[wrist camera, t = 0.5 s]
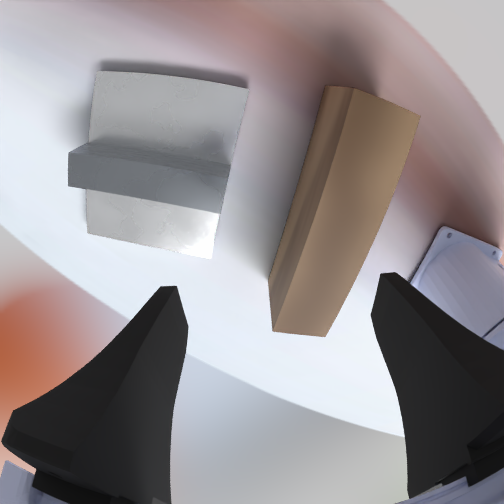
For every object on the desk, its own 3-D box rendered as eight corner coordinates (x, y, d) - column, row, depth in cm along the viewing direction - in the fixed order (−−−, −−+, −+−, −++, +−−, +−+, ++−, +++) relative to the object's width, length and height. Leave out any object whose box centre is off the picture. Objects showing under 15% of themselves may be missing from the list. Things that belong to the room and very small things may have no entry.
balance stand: (249, 89, 15) (249, 90, 12) (211, 253, 20) (206, 280, 18) (101, 71, 13) (76, 71, 11) (91, 229, 19) (72, 251, 17)
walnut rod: (378, 104, 15) (420, 116, 11) (312, 287, 22) (325, 337, 18) (325, 85, 15) (354, 87, 10) (267, 280, 22) (272, 331, 18)
